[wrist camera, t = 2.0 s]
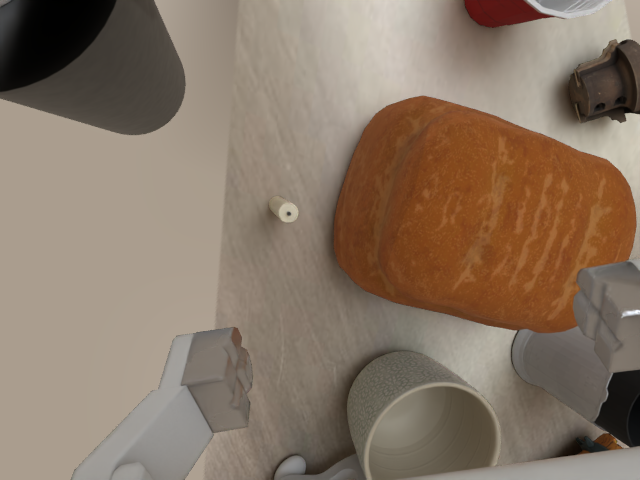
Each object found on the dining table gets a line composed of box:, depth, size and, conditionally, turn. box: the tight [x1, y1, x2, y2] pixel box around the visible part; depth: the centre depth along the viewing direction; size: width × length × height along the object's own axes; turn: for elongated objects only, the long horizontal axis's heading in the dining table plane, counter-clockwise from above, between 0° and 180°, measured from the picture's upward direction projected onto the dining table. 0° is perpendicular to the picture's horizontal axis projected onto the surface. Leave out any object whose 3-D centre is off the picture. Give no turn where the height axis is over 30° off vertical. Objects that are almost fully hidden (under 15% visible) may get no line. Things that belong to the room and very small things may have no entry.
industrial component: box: [569, 39, 640, 123], centre depth 46 cm, size 9×7×12 cm
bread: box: [334, 96, 636, 333], centre depth 41 cm, size 18×21×17 cm
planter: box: [347, 351, 501, 480], centre depth 46 cm, size 12×12×11 cm
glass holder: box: [512, 326, 640, 448], centre depth 47 cm, size 9×14×15 cm, turn 76°
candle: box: [269, 196, 298, 223], centre depth 41 cm, size 2×2×9 cm
